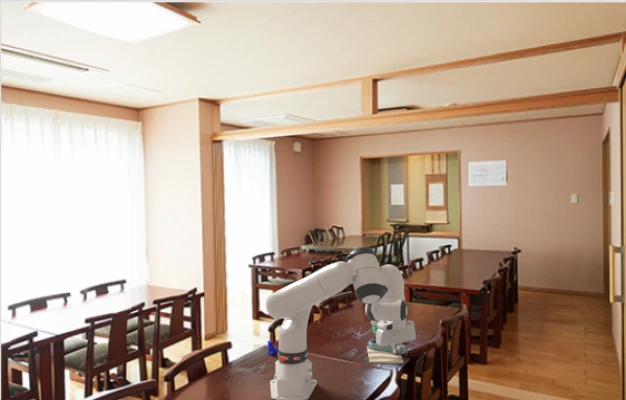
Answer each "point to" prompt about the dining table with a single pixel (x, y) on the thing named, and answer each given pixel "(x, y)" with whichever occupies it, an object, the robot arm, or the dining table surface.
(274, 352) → the cable clip
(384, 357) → the board
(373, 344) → the link
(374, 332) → the food container
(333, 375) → the dining table surface
